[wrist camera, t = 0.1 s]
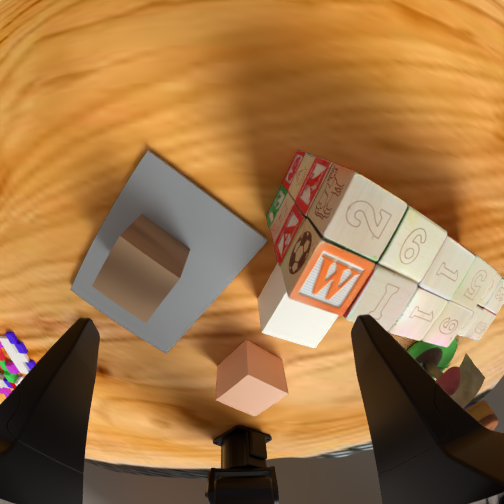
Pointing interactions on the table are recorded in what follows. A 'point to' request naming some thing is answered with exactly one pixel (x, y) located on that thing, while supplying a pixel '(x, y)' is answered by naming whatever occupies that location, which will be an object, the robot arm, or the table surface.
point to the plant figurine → (455, 378)
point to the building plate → (184, 230)
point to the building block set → (19, 364)
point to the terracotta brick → (250, 379)
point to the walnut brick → (142, 268)
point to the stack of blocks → (376, 257)
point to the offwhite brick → (290, 314)
